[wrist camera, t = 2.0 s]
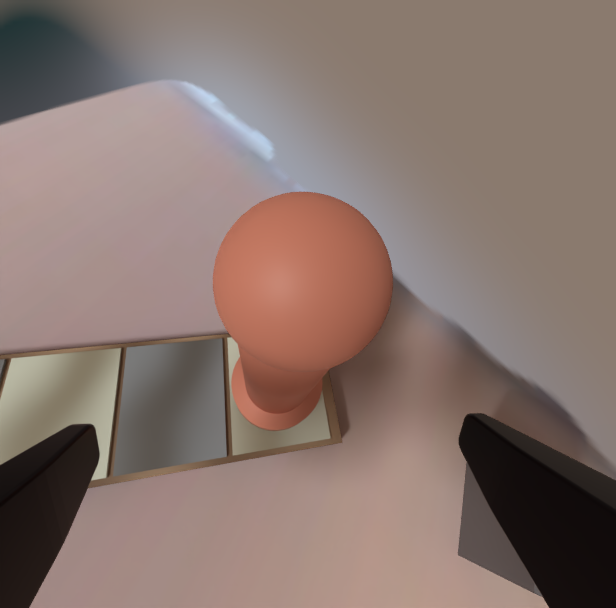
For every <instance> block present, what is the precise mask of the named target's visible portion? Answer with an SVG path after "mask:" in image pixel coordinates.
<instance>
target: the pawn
mask: <svg viewBox="0 0 616 608" xmlns="http://www.w3.org/2000/svg"><path fill="white" fill-rule="evenodd" d="M392 289H393V274H392V267H391V261H390V258H389V254H388V251H387V249H386V246H385V244H384V242H383V240H382V238H381V236H380V235H379V233H378V232H377V230H376V229H375V228H374V226H373V225H372V224H371V223H370V222H369V220H368V219H367V218H366V217H365V216H363V214H361V213H360V212H359V211H358V210H357V209H355V208H354V207H352V206H350V205H349V204H347V203H345V202H343V201H341V200H339V199H336V198H334V197H331V196H328V195H324V194H319V193H313V192H291V193H285V194H281V195H278V196H274V197H272V198H269V199H267V200H264V201H262V202H260V203H259V204H257V205H255V206H254V207H252V208H251V209H250V210H248V211H247V212H246V213H245V214H243V215H242V216H241V217H240V218H239V219H238V220H237V221H236V222H235V223H234V225H233V226H232V227H231V229H230V230H229V231H228V233H227V234H226V236H225V238H224V240H223V242H222V244H221V246H220V248H219V251H218V254H217V257H216V260H215V266H214V273H213V291H214V298H215V304H216V307H217V310H218V313H219V316H220V318H221V320H222V322H223V324H224V326H225V328H226V330H227V331H228V333H229V334H230V335H231V337H232V338H233V339H234V340H235V342H236V343H237V344H238V348H239V354H240V357H239V359H238V361H237V362H236V364H235V367H234V369H233V374H232V380H231V388H232V394H233V397H234V400H235V403H236V405H237V407H238V409H239V411H240V412H241V414H242V415H243V416H244V418H245V419H246V420H247V421H249V422H250V423H251V424H253V425H254V426H256V427H258V428H261V429H264V430H269V431H280V430H285V429H289V428H291V427H293V426H295V425H297V424H299V423H300V422H301V421H303V420H304V419H305V418H306V417H308V416H309V414H310V413H311V412H312V411H313V410H314V408H315V407H316V405H317V403H318V401H319V399H320V396H321V392H322V384H323V383H322V378H323V376H324V375H325V374H326V373H327V372H328V370H329V369H330V368H332V367H334V366H337V365H340V364H342V363H344V362H346V361H347V360H349V359H351V358H352V357H354V356H355V355H356V354H358V353H359V352H360V351H361V350H363V349H364V348H365V347H366V346H367V345H368V344H369V343H370V342H371V341H372V339H373V338H374V337H375V335H376V334H377V332H378V331H379V329H380V328H381V326H382V324H383V322H384V320H385V318H386V315H387V313H388V310H389V307H390V303H391V297H392Z"/></svg>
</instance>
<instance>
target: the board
mask: <svg viewBox="0 0 616 608" xmlns="http://www.w3.org/2000/svg"><path fill="white" fill-rule="evenodd" d="M239 357H240V354H239V348H238V344H237V343H236V342H235V340H234V339H233V338H232V337H231V335H230V334H222V335H211V336H200V337H190V338H179V339H168V340H158V341H147V342H136V343H125V344H115V345H104V346H93V347H82V348H72V349H61V350H50V351H40V352H29V353H18V354H7V355H0V465H1V464H3V463H4V462H6V461H8V460H10V459H11V458H13V457H15V456H17V455H18V454H20V453H22V452H24V451H25V450H27V449H29V448H30V447H32V446H34V445H36V444H37V443H39V442H41V441H43V440H44V439H46V438H48V437H50V436H51V435H53V434H55V433H57V432H58V431H60V430H62V429H64V428H65V427H67V426H69V425H72V424H92V425H94V427H95V429H96V434H97V440H98V445H99V451H100V458H99V462H98V465H97V468H96V470H95V472H94V475H93V477H92V479H91V482H90V484H89V486H88V488H92V487H98V486H103V485H109V484H114V483H120V482H125V481H131V480H137V479H142V478H148V477H153V476H159V475H164V474H170V473H175V472H181V471H187V470H192V469H198V468H203V467H209V466H214V465H220V464H225V463H231V462H237V461H242V460H248V459H253V458H259V457H264V456H270V455H275V454H281V453H287V452H292V451H298V450H303V449H309V448H314V447H320V446H325V445H331V444H337V443H342V438H341V433H340V427H339V422H338V417H337V412H336V406H335V401H334V396H333V391H332V385H331V380H330V375H329V370H328V372H327V373H326V374H325V375H324V376H323V378H322V383H323V384H322V392H321V396H320V399H319V401H318V403H317V405H316V407H315V408H314V410H313V411H312V412H311V413H310V414H309V416H308V417H306V418H305V419H304V420H303V421H301V422H300V423H299V424H297V425H295V426H293V427H291V428H289V429H285V430H280V431H269V430H264V429H261V428H258V427H256V426H254V425H253V424H251V423H250V422H249V421H247V420H246V419H245V418H244V416H243V415H242V414H241V412H240V411H239V409H238V407H237V405H236V403H235V400H234V397H233V394H232V388H231V380H232V374H233V369H234V367H235V364H236V362H237V361H238V359H239Z"/></svg>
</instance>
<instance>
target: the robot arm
mask: <svg viewBox="0 0 616 608" xmlns="http://www.w3.org/2000/svg"><path fill="white" fill-rule="evenodd" d="M459 446H460V449H461V451H462V453H463V455H464V457H465V459H466V461H467V463H468V465H469V467H470V469H471V471H472V473H473V475H474V477H475V479H476V481H477V483H478V486H479V488H480V490H481V492H482V494H483V496H484V498H485V500H486V502H487V503H488V505H489V507H490V509H491V511H492V513H493V514H494V516H495V518H496V520H497V521H498V523H499V525H500V526H501V528H502V530H503V531H504V533H505V535H506V536H507V538H508V540H509V541H510V543H511V545H512V546H513V548H514V550H515V551H516V553H517V555H518V556H519V558H520V560H521V561H522V563H523V565H524V566H525V568H526V570H527V571H528V573H529V575H530V576H531V578H532V580H533V581H534V583H535V585H536V586H537V588H538V590H539V592H540V593H541V595H542V597H543V598H544V600H545V602H546V603H547V605H548V607H549V608H616V480H614V479H612V478H610V477H608V476H606V475H604V474H602V473H600V472H598V471H596V470H594V469H592V468H590V467H588V466H586V465H584V464H582V463H580V462H578V461H576V460H574V459H572V458H570V457H568V456H566V455H564V454H562V453H560V452H558V451H556V450H554V449H552V448H550V447H548V446H546V445H544V444H542V443H541V442H539V441H537V440H535V439H533V438H531V437H529V436H527V435H525V434H523V433H521V432H519V431H517V430H515V429H513V428H511V427H509V426H507V425H505V424H503V423H501V422H499V421H497V420H495V419H493V418H491V417H489V416H487V415H485V414H482V413H475V414H467V415H466V417H465V418H464V422H463V425H462V428H461V432H460V435H459ZM99 458H100V451H99V445H98V440H97V434H96V429H95V427H94V425H92V424H72V425H69V426H67V427H65V428H64V429H62V430H60V431H58V432H57V433H55V434H53V435H51V436H50V437H48V438H46V439H44V440H43V441H41V442H39V443H37V444H36V445H34V446H32V447H30V448H29V449H27V450H25V451H24V452H22V453H20V454H18V455H17V456H15V457H13V458H11V459H10V460H8V461H6V462H4V463H3V464H1V465H0V608H29V607H30V605H31V603H32V601H33V600H34V598H35V596H36V594H37V592H38V590H39V588H40V587H41V585H42V583H43V581H44V579H45V577H46V576H47V574H48V572H49V570H50V568H51V566H52V564H53V563H54V561H55V559H56V557H57V555H58V553H59V551H60V549H61V547H62V545H63V543H64V541H65V539H66V537H67V535H68V533H69V530H70V528H71V526H72V523H73V521H74V519H75V516H76V514H77V512H78V510H79V507H80V505H81V503H82V500H83V498H84V496H85V493H86V491H87V489H88V486H89V484H90V482H91V479H92V477H93V475H94V472H95V470H96V468H97V465H98V462H99Z"/></svg>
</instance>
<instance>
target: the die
mask: <svg viewBox="0 0 616 608" xmlns="http://www.w3.org/2000/svg"><path fill="white" fill-rule="evenodd" d="M458 555H459V556H461V557H463V558H465V559H467V560H469V561H471V562H473V563H475V564H477V565H479V566H481V567H483V568H485V569H487V570H489V571H491V572H493V573H495V574H497V575H499V576H501V577H503V578H505V579H507V580H509V581H511V582H513V583H515V584H517V585H519V586H521V587H523V588H525V589H527V590H529V591H531V592H533V593H535V594H537V595H539V596H542V595H541V593H540V592H539V590H538V588H537V586H536V585H535V583H534V581H533V580H532V578H531V576H530V575H529V573H528V571H527V570H526V568H525V566H524V565H523V563H522V561H521V560H520V558H519V556H518V555H517V553H516V551H515V550H514V548H513V546H512V545H511V543H510V541H509V540H508V538H507V536H506V535H505V533H504V531H503V530H502V528H501V526H500V525H499V523H498V521H497V520H496V518H495V516H494V514H493V513H492V511H491V509H490V507H489V505H488V503H487V502H486V500H485V498H484V496H483V494H482V492H481V490H480V488H479V486H478V483H477V481H476V479H475V477H474V475H473V473H472V471H471V469H470V467H469V465H468V463H467V464H466V474H465V485H464V495H463V506H462V517H461V527H460V538H459V549H458Z"/></svg>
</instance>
